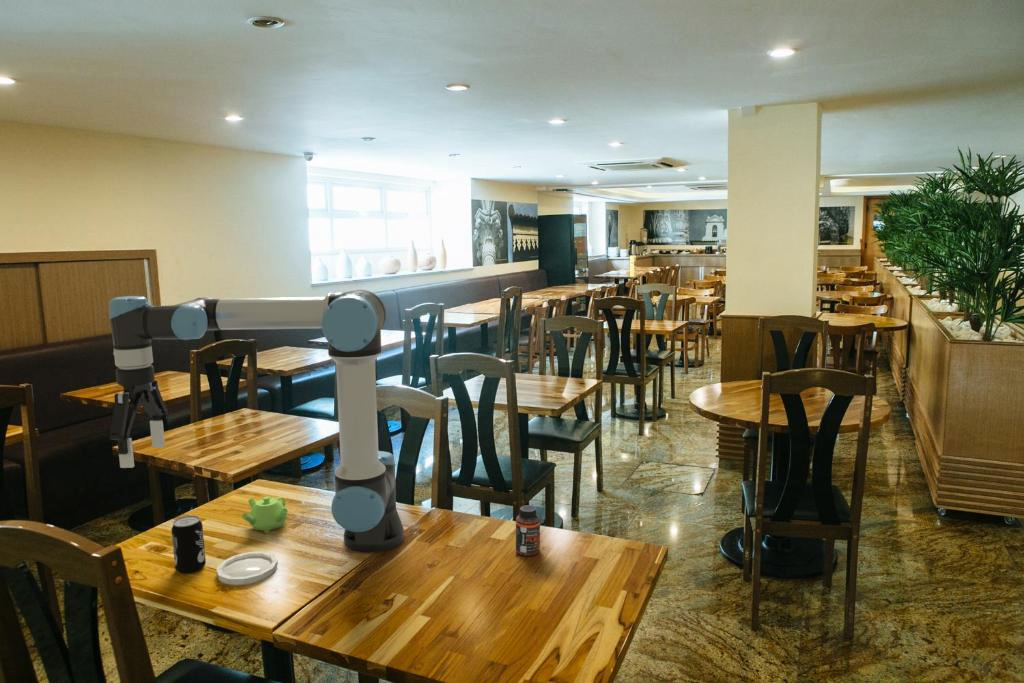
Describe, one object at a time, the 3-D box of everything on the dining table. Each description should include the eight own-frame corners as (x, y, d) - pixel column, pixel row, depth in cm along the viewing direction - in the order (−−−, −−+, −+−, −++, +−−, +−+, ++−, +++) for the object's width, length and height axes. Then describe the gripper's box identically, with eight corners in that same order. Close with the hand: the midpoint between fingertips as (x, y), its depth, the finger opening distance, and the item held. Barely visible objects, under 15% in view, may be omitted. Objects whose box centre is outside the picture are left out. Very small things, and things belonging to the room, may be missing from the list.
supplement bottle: (527, 559, 167) (526, 515, 165) (510, 551, 171) (510, 507, 169) (545, 551, 171) (545, 508, 169) (528, 543, 175) (528, 501, 173)
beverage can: (194, 576, 160) (189, 527, 158) (169, 573, 161) (164, 525, 159) (211, 562, 166) (207, 515, 164) (187, 560, 168) (183, 513, 165)
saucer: (283, 557, 169) (283, 551, 168) (266, 584, 156) (266, 578, 156) (230, 558, 168) (229, 552, 168) (208, 586, 156) (207, 579, 155)
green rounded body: (292, 516, 192) (290, 487, 190) (288, 534, 181) (286, 504, 179) (250, 520, 190) (247, 491, 188) (243, 539, 179) (240, 508, 177)
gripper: (146, 355, 167) (155, 439, 171) (83, 378, 142) (94, 476, 146) (177, 355, 167) (185, 439, 171) (120, 378, 142) (130, 476, 146)
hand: (143, 456), depth 158 cm, fingers open, 13 cm apart
